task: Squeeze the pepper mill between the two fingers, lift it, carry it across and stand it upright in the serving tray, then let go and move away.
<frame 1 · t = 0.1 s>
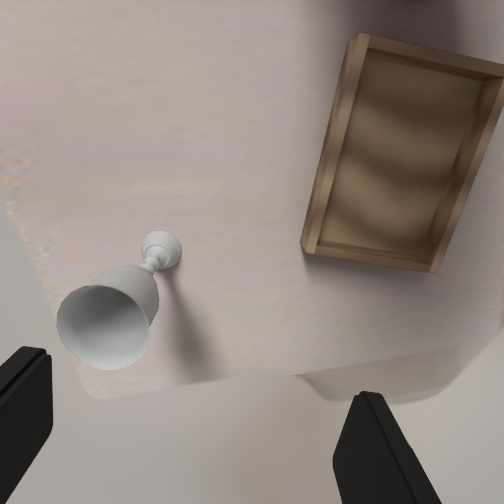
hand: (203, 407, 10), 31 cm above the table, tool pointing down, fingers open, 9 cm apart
serving tray: (387, 164, 38), on the table
chalice: (162, 249, 41), on the table
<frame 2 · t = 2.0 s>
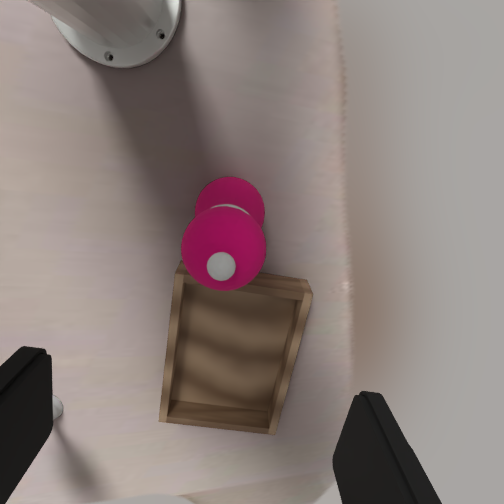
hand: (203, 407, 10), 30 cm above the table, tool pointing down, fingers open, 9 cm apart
serving tray: (231, 343, 45), on the table
pepper mill: (231, 203, 38), on the table
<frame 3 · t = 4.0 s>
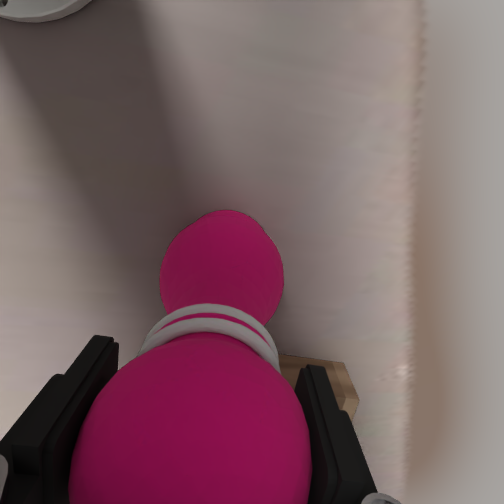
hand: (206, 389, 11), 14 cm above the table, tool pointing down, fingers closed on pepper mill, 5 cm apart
serving tray: (227, 449, 30), on the table
pepper mill: (226, 251, 24), on the table, touching gripper
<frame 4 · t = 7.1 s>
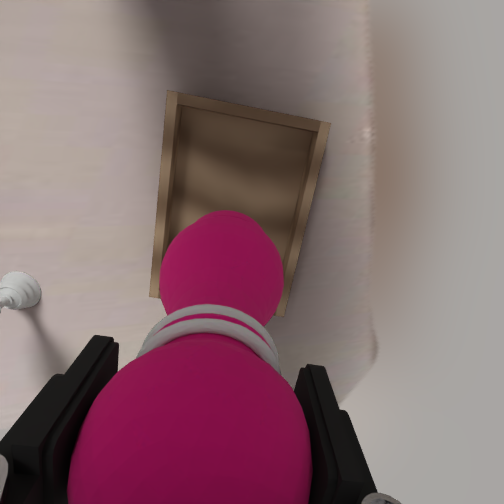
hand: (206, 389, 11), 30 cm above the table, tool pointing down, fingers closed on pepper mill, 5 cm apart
serving tray: (233, 209, 39), on the table
chalice: (21, 289, 42), on the table
pepper mill: (226, 251, 24), point 16 cm above the table, touching gripper
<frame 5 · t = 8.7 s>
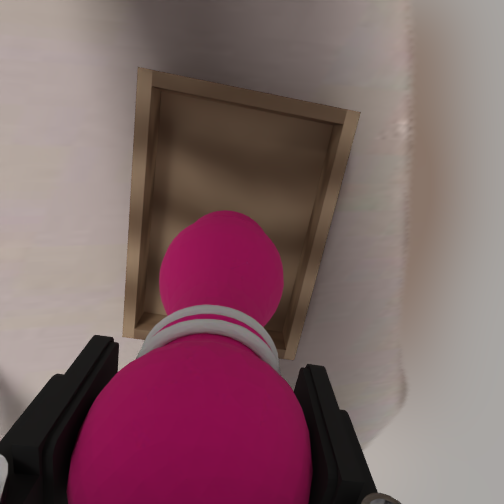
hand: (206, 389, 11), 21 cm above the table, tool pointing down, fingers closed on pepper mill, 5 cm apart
serving tray: (230, 224, 30), on the table
pepper mill: (226, 251, 24), point 7 cm above the table, touching gripper
when the fingers open (16 cm above the table, at t = 10.1 s): pepper mill drops 1 cm, resting on serving tray.
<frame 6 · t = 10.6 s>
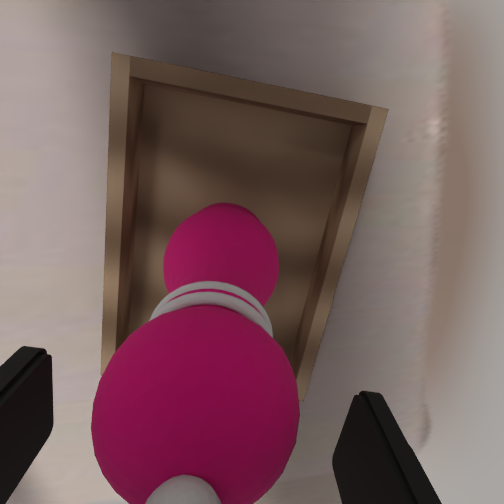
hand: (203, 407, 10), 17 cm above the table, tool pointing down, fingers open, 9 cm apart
serving tray: (228, 241, 26), on the table
pepper mill: (225, 242, 25), point 1 cm above the table, touching serving tray
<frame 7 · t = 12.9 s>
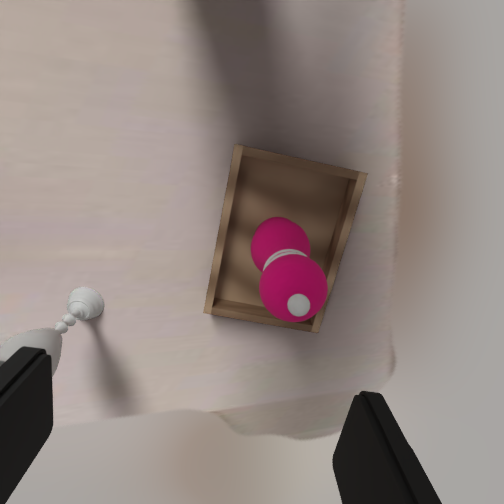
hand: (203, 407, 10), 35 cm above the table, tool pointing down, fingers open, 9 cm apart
serving tray: (277, 239, 45), on the table
chalice: (86, 302, 48), on the table
pepper mill: (276, 238, 44), point 1 cm above the table, touching serving tray
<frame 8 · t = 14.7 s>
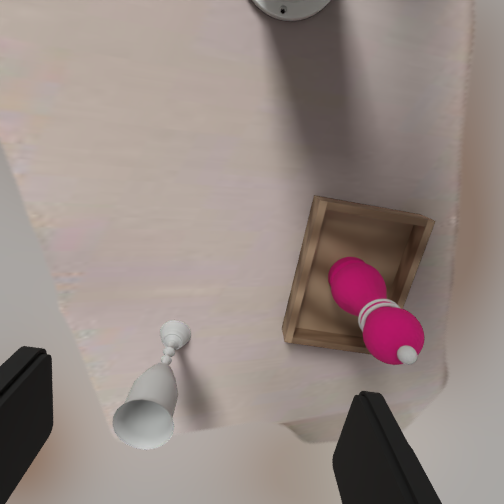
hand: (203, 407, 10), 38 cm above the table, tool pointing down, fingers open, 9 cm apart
serving tray: (347, 274, 51), on the table
chalice: (175, 333, 54), on the table
pepper mill: (347, 274, 50), point 1 cm above the table, touching serving tray
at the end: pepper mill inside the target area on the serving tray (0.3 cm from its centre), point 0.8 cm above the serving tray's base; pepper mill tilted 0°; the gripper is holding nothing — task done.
